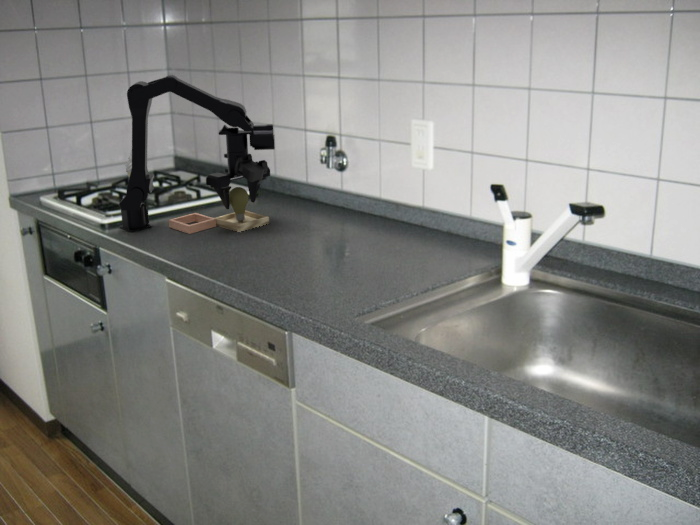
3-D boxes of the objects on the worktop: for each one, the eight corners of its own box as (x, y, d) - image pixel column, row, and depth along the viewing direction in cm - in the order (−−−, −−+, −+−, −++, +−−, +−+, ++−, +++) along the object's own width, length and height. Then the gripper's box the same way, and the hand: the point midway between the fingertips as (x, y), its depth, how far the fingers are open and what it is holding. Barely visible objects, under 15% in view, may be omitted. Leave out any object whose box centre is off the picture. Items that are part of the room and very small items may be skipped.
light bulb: (227, 224, 215) (224, 189, 211) (235, 218, 220) (232, 184, 216) (245, 225, 213) (242, 190, 210) (253, 219, 218) (251, 185, 215)
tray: (239, 232, 210) (238, 225, 209) (213, 224, 217) (213, 218, 216) (269, 223, 217) (269, 217, 217) (243, 216, 224) (243, 209, 224)
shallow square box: (189, 234, 209) (188, 226, 208) (169, 227, 215) (168, 219, 214) (216, 226, 215) (215, 218, 215) (196, 220, 221) (195, 212, 221)
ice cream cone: (127, 194, 249) (122, 148, 244) (143, 192, 251) (138, 147, 246) (130, 198, 245) (125, 151, 239) (146, 196, 247) (141, 149, 241)
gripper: (229, 160, 198) (233, 218, 204) (282, 149, 211) (284, 203, 217) (202, 154, 205) (206, 210, 211) (255, 143, 218) (258, 197, 224)
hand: (240, 205), depth 215 cm, fingers open, 9 cm apart
